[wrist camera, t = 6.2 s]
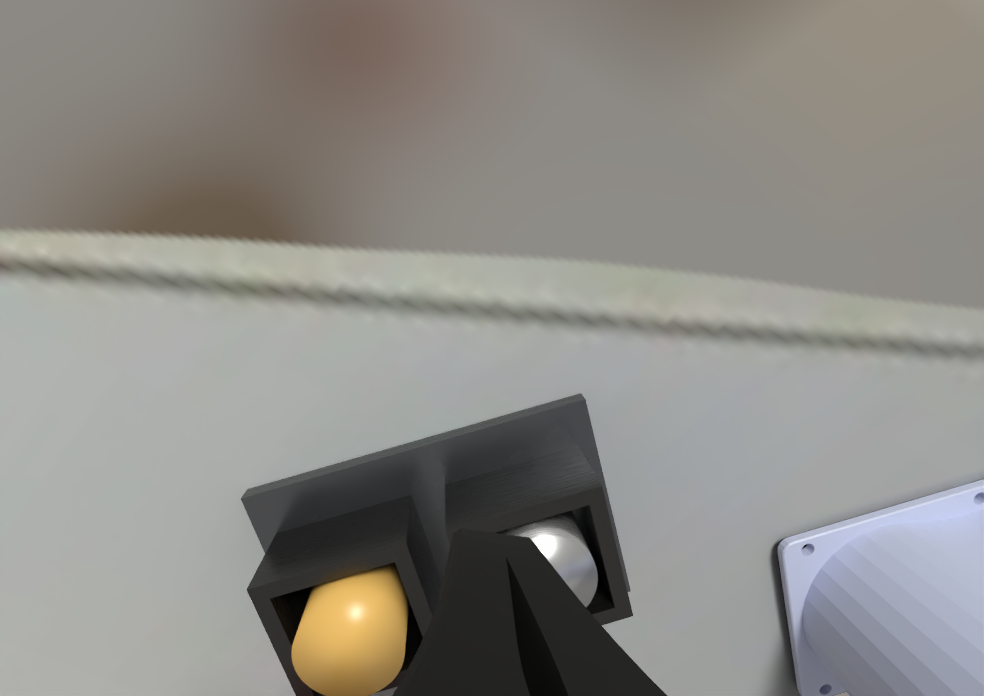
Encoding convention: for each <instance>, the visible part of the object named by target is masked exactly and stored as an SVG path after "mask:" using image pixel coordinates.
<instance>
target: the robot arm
mask: <svg viewBox="0 0 984 696" xmlns="http://www.w3.org/2000/svg"><path fill="white" fill-rule="evenodd" d="M806 544H807V546H806V547H805V548H803V546H804V545H806ZM802 548H803V549H802ZM778 558H779V565H780V572H781V579H782V586H783V593H784V600H785V607H786V613H787V620H788V627H789V634H790V641H791V648H792V655H793V662H794V669H795V676H796V683H797V689H798V692H799V693H800V695H801V696H834V695H837V694H841V693H844V692H847V693H848V694H849V695H850V696H984V479H983V480H979V481H976V482H973V483H969V484H966V485H962V486H959V487H956V488H952V489H949V490H946V491H942V492H939V493H935V494H932V495H929V496H925V497H922V498H919V499H915V500H912V501H909V502H905V503H902V504H898V505H895V506H892V507H888V508H885V509H882V510H878V511H875V512H871V513H868V514H865V515H861V516H858V517H855V518H851V519H848V520H844V521H841V522H838V523H834V524H831V525H828V526H824V527H821V528H817V529H814V530H811V531H807V532H804V533H801V534H797V535H794V536H791V537H788V538H786V539H783V540H782V541H781V542H780V544H779V546H778ZM393 696H667V695H666V694H665V693H664V692H663V691H662V690H661V689H660V688H659V687H658V686H657V685H656V684H655V683H654V682H653V681H652V680H651V679H650V678H649V677H648V676H647V675H646V674H645V673H644V672H643V671H642V670H641V669H640V668H639V666H638V665H637V664H636V663H635V662H634V661H633V660H632V659H631V658H630V657H629V656H628V655H627V654H626V653H625V651H624V650H623V649H622V648H621V647H620V646H619V645H618V644H617V643H616V642H615V641H614V640H613V638H612V637H611V636H610V635H609V634H608V633H607V632H606V630H605V629H604V628H603V627H602V626H601V625H600V624H599V622H598V621H597V620H596V619H595V618H594V617H593V615H592V614H591V613H590V612H589V611H588V609H587V608H586V607H585V606H584V605H583V603H582V602H581V601H580V600H579V599H578V597H577V596H576V595H575V594H574V592H573V591H572V590H571V589H570V587H569V586H568V585H567V584H566V582H565V581H564V580H563V579H562V577H561V576H560V575H559V574H558V572H557V571H556V570H555V568H554V567H553V566H552V565H551V563H550V562H549V561H548V560H547V558H546V557H545V556H544V554H543V553H542V552H541V551H540V549H539V548H538V547H537V546H536V544H535V543H534V542H533V541H532V540H531V539H530V538H529V537H521V536H514V535H507V534H499V533H492V532H484V531H477V530H469V529H462V528H461V529H459V530H458V531H456V532H455V533H453V536H452V541H451V546H450V550H449V555H448V560H447V564H446V569H445V574H444V578H443V583H442V587H441V592H440V597H439V601H438V606H437V609H436V611H435V613H434V616H433V618H432V620H431V622H430V624H429V626H428V629H427V631H426V633H425V635H424V637H423V640H422V642H421V644H420V646H419V648H418V650H417V652H416V654H415V656H414V658H413V660H412V662H411V664H410V666H409V668H408V669H407V671H406V673H405V675H404V677H403V679H402V680H401V682H400V684H399V686H398V687H397V689H396V691H395V692H394V694H393Z"/></svg>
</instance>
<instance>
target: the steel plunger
mask: <svg viewBox="0 0 984 696" xmlns="http://www.w3.org/2000/svg"><path fill="white" fill-rule="evenodd" d="M496 533H499V534H507V535H514V536H521V537H529V538H530V539H531V540H532V541H533V542H534V543H535V544H536V546H537V547H538V548H539V549H540V551H541V552H542V553H543V554H544V556H545V557H546V558H547V560H548V561H549V562H550V563H551V565H552V566H553V567H554V568H555V570H556V571H557V572H558V574H559V575H560V576H561V577H562V579H563V580H564V581H565V582H566V584H567V585H568V586H569V587H570V589H571V590H572V591H573V592H574V594H575V595H576V596H577V597H578V599H579V600H580V601H581V602H582V603H583V605H584V606H585V607H587V606H588V605H589V604H590V602H591V600H592V599H593V596H594V594H595V592H596V588H597V582H598V574H597V568H596V565H595V562H594V560H593V558H592V556H591V553H590V551H589V549H588V546H587V544H586V542H585V540H584V537H583V535H582V533H581V530H580V528H579V526H578V524H577V521H576V519H575V517H574V514H573V512H572V510H571V511H568V512H564V513H561V514H557V515H554V516H550V517H547V518H544V519H540V520H537V521H533V522H530V523H527V524H523V525H520V526H516V527H513V528H510V529H506V530H503V531H499V532H496Z"/></svg>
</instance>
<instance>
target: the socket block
mask: <svg viewBox="0 0 984 696" xmlns="http://www.w3.org/2000/svg"><path fill="white" fill-rule="evenodd" d="M241 500H242V502H243V504H244V507H245V509H246V511H247V513H248V516H249V518H250V520H251V522H252V525H253V527H254V529H255V531H256V534H257V536H258V538H259V540H260V543H261V545H262V547H263V549H264V552H265V556H264V557H263V559H262V561H261V563H260V565H259V567H258V569H257V571H256V573H255V575H254V577H253V579H252V581H251V583H250V584H249V586H248V588H247V591H248V593H249V596H250V598H251V600H252V602H253V604H254V606H255V608H256V611H257V613H258V615H259V617H260V619H261V621H262V623H263V626H264V628H265V630H266V632H267V634H268V636H269V638H270V641H271V643H272V645H273V647H274V649H275V651H276V653H277V656H278V658H279V660H280V662H281V664H282V666H283V668H284V671H285V673H286V675H287V677H288V679H289V681H290V683H291V686H292V688H293V690H294V692H295V694H296V696H326V695H323V694H320V693H318V692H316V691H315V690H313V689H311V688H310V687H309V686H307V685H306V684H305V683H304V682H303V681H302V680H301V679H300V677H299V676H298V674H297V673H296V671H295V669H294V666H293V662H292V653H291V652H292V645H293V642H294V639H295V636H296V633H297V630H298V627H299V624H300V621H301V618H302V615H303V613H304V610H305V607H306V604H307V601H308V598H309V595H310V592H311V590H312V587H313V586H315V585H318V584H322V583H325V582H329V581H332V580H335V579H339V578H342V577H346V576H349V575H352V574H356V573H359V572H363V571H366V570H370V569H373V568H376V567H380V566H383V565H387V564H390V563H393V562H395V564H396V567H397V570H398V572H399V575H400V578H401V580H402V583H403V586H404V588H405V591H406V594H407V596H408V599H409V611H408V623H407V635H406V646H405V657H404V662H403V665H402V668H401V669H400V671H399V673H398V675H397V676H396V677H395V679H394V680H393V681H392V682H391V683H390V684H388V685H387V686H386V687H385V688H383V689H381V690H380V691H383V690H386V689H390V688H393V687H396V686H399V684H400V682H401V680H402V679H403V677H404V675H405V673H406V671H407V669H408V668H409V666H410V664H411V662H412V660H413V658H414V656H415V654H416V652H417V650H418V648H419V646H420V644H421V642H422V640H423V637H424V635H425V633H426V631H427V629H428V626H429V624H430V622H431V620H432V618H433V616H434V613H435V611H436V609H437V606H438V601H439V597H440V592H441V587H442V583H443V578H444V574H445V569H446V564H447V560H448V555H449V550H450V546H451V541H452V536H453V533H455V532H456V531H458V530H459V529H461V528H462V529H469V530H477V531H484V532H492V533H496V532H499V531H503V530H506V529H510V528H513V527H516V526H520V525H523V524H527V523H530V522H533V521H537V520H540V519H544V518H547V517H550V516H554V515H557V514H561V513H564V512H568V511H571V510H572V512H573V514H574V517H575V519H576V521H577V524H578V526H579V528H580V530H581V533H582V535H583V537H584V540H585V542H586V544H587V546H588V549H589V551H590V553H591V556H592V558H593V560H594V562H595V565H596V568H597V574H598V582H597V588H596V592H595V594H594V596H593V599H592V600H591V602H590V604H589V605H588V606H587V607H586V608H587V609H588V611H589V612H590V613H591V614H592V615H593V617H594V618H595V619H596V620H597V621H598V622H599V624H600V625H604V624H608V623H611V622H614V621H618V620H621V619H624V618H628V617H631V616H633V613H632V609H631V605H630V601H629V597H628V592H629V591H630V586H629V582H628V578H627V574H626V569H625V565H624V561H623V557H622V553H621V548H620V544H619V540H618V536H617V531H616V527H615V523H614V519H613V514H612V510H611V506H610V502H609V498H608V493H607V489H606V485H605V481H604V476H603V472H602V468H601V464H600V459H599V455H598V451H597V447H596V443H595V438H594V434H593V430H592V426H591V421H590V417H589V413H588V409H587V404H586V400H585V398H584V397H583V396H582V394H577V395H574V396H570V397H567V398H563V399H560V400H556V401H553V402H549V403H546V404H543V405H539V406H536V407H532V408H529V409H525V410H522V411H518V412H515V413H511V414H508V415H504V416H501V417H497V418H494V419H490V420H487V421H484V422H480V423H477V424H473V425H470V426H466V427H463V428H459V429H456V430H452V431H449V432H445V433H442V434H438V435H435V436H431V437H428V438H425V439H421V440H418V441H414V442H411V443H407V444H404V445H400V446H397V447H393V448H390V449H386V450H383V451H379V452H376V453H372V454H369V455H365V456H362V457H359V458H355V459H352V460H348V461H345V462H341V463H338V464H334V465H331V466H327V467H324V468H320V469H317V470H313V471H310V472H306V473H303V474H300V475H296V476H293V477H289V478H286V479H282V480H279V481H275V482H272V483H268V484H265V485H261V486H258V487H254V488H251V489H247V491H246V492H245V493H244V495H243V496H242V498H241ZM378 692H379V691H378Z"/></svg>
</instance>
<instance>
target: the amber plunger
mask: <svg viewBox="0 0 984 696" xmlns="http://www.w3.org/2000/svg"><path fill="white" fill-rule="evenodd" d="M408 611H409V599H408V596H407V594H406V591H405V588H404V586H403V583H402V580H401V578H400V575H399V572H398V570H397V567H396V564H395V562H393V563H390V564H387V565H383V566H380V567H376V568H373V569H370V570H366V571H363V572H359V573H356V574H352V575H349V576H346V577H342V578H339V579H335V580H332V581H329V582H325V583H322V584H318V585H315V586H313V587H312V590H311V592H310V595H309V598H308V601H307V604H306V607H305V610H304V613H303V615H302V618H301V621H300V624H299V627H298V630H297V633H296V636H295V639H294V642H293V645H292V652H291V653H292V662H293V666H294V669H295V671H296V673H297V674H298V676H299V677H300V679H301V680H302V681H303V682H304V683H305V684H306V685H307V686H309V687H310V688H311V689H313V690H315V691H316V692H318V693H320V694H323V695H326V696H368V695H371V694H374V693H376V692H378V691H380V690H381V689H383V688H385V687H386V686H387V685H388V684H390V683H391V682H392V681H393V680H394V679H395V677H396V676H397V675H398V673H399V671H400V669H401V668H402V665H403V662H404V657H405V646H406V635H407V623H408Z"/></svg>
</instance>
